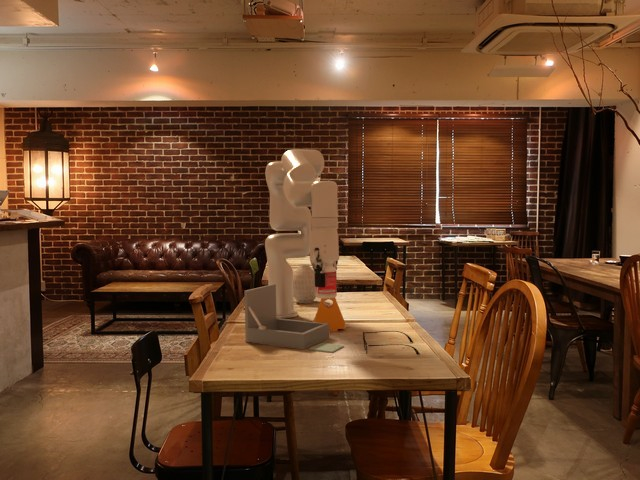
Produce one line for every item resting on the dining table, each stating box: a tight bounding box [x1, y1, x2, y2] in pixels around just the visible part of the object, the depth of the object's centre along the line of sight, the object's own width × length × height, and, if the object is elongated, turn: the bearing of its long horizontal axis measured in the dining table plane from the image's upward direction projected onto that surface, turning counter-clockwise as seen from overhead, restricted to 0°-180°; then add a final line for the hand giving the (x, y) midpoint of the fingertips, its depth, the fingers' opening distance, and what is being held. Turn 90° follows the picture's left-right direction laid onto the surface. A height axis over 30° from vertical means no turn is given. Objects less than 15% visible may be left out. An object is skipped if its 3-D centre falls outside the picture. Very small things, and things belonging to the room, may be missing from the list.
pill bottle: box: [315, 260, 338, 299], centre depth 157 cm, size 6×6×11 cm
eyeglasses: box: [362, 330, 420, 355], centre depth 157 cm, size 16×16×4 cm
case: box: [243, 284, 330, 350], centre depth 168 cm, size 21×16×16 cm
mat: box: [309, 342, 345, 354], centre depth 158 cm, size 8×8×1 cm
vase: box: [293, 263, 317, 304], centre depth 236 cm, size 13×13×17 cm
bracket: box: [312, 297, 346, 332], centre depth 183 cm, size 11×7×12 cm, turn 90°
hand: (325, 284), depth 157 cm, fingers closed on pill bottle, 6 cm apart
